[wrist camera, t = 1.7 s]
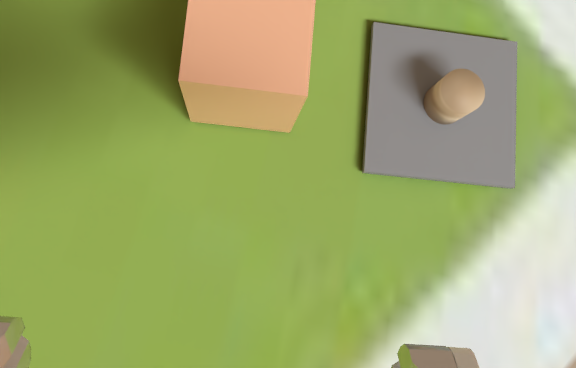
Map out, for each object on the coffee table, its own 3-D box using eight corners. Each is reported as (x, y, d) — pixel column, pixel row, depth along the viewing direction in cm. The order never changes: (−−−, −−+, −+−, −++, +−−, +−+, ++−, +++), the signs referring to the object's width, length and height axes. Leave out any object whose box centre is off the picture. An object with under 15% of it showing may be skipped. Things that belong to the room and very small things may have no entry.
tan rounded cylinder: (415, 103, 35) (432, 89, 32) (442, 75, 35) (461, 59, 32) (445, 133, 35) (465, 121, 32) (471, 105, 35) (493, 91, 32)
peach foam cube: (190, 121, 33) (178, 80, 25) (202, 27, 34) (193, -40, 26) (289, 132, 34) (307, 96, 26) (297, 40, 35) (317, -22, 27)
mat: (362, 172, 34) (364, 171, 34) (371, 25, 36) (373, 21, 35) (510, 188, 35) (514, 187, 35) (513, 44, 37) (517, 42, 36)
